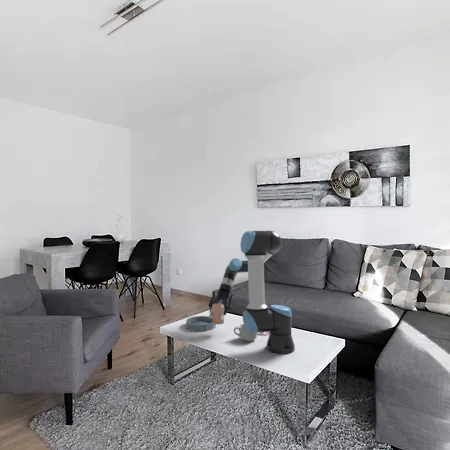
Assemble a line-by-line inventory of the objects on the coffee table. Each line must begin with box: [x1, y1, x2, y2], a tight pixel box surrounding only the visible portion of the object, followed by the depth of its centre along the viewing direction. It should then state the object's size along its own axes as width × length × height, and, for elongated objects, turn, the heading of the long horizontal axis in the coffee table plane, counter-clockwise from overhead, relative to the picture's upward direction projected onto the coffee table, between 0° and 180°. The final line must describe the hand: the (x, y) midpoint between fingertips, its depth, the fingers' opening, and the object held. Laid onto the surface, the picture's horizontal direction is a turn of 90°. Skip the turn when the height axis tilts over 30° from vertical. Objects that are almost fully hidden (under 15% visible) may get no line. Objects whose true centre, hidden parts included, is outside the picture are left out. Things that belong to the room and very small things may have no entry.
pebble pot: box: [212, 302, 225, 325], centre depth 208 cm, size 7×7×12 cm
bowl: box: [185, 315, 217, 332], centre depth 224 cm, size 19×19×4 cm
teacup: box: [233, 323, 258, 342], centre depth 200 cm, size 14×11×8 cm
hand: (215, 318), depth 205 cm, fingers closed on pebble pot, 7 cm apart
